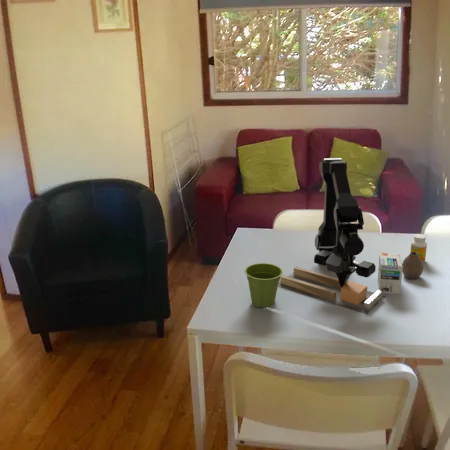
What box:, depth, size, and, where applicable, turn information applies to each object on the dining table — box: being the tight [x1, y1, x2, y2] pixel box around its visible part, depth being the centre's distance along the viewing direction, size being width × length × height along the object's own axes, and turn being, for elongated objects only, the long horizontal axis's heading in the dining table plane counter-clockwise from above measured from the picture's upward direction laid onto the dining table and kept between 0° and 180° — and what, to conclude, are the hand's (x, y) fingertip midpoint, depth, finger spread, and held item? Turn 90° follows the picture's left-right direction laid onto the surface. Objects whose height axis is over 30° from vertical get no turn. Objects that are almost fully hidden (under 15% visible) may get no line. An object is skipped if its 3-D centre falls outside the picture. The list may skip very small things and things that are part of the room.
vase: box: [401, 252, 424, 280], centre depth 184 cm, size 7×7×9 cm
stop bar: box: [364, 289, 383, 311], centre depth 166 cm, size 10×2×2 cm, turn 142°
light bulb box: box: [377, 252, 403, 295], centre depth 176 cm, size 11×7×11 cm, turn 168°
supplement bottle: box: [409, 233, 428, 263], centre depth 196 cm, size 5×5×10 cm
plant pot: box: [244, 262, 283, 309], centre depth 169 cm, size 12×12×11 cm
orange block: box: [340, 280, 368, 305], centre depth 170 cm, size 6×6×4 cm
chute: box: [278, 266, 386, 315], centre depth 175 cm, size 14×33×3 cm, turn 52°
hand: (342, 287), depth 172 cm, fingers closed
